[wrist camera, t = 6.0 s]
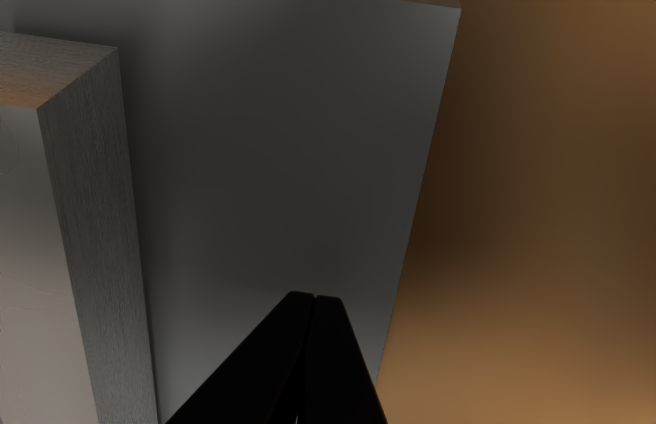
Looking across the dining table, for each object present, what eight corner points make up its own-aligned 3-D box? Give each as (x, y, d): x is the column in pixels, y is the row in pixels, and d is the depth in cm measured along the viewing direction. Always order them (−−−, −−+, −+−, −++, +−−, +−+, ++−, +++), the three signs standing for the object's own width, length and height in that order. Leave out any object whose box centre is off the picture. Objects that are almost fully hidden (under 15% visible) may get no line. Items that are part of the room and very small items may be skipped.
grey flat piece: (330, 559, 17) (317, 686, 14) (31, 507, 17) (-33, 622, 15) (456, -10, 8) (478, 64, 5) (-174, -97, 8) (-425, -64, 6)
